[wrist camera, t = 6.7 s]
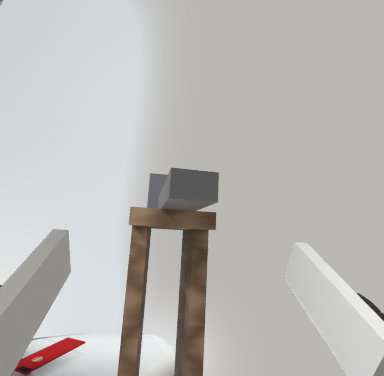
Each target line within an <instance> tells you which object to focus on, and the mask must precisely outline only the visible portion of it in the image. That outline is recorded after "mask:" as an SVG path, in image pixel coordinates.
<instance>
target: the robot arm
mask: <svg viewBox="0 0 384 376" xmlns="http://www.w3.org/2000/svg"><path fill="white" fill-rule="evenodd" d="M2 2H3V0H0V5H1V4H2ZM68 234H69V233H68V230H56V229H55V230H54V229H53V230H52V231H51V232H50V234H49V235H48V236H47V237H46V238H45V239H44V240H43V241H42V242H41V243H40V245H39V246H38V247H37V248H36V249H35V250H34V251H33V252H32V253H31V254H30V256H29V257H28V258H27V259H26V260H25V261H24V262H23V263H22V264H21V266H20V267H19V268H18V269H17V270H16V271H15V272H14V273H13V274H12V275H11V277H10V278H9V279H8V280H7V281H6V282H5V283H4V284H3V285H0V376H11V375H12V373H13V371H14V370H15V368H16V366H17V365H18V363H19V361H20V359H21V358H22V356H23V354H24V352H25V351H26V349H27V347H28V345H29V344H30V342H31V340H32V339H33V336H34V335H35V333H36V332H37V329H38V328H39V326H40V325H41V323H42V321H43V319H44V318H45V316H46V314H47V313H48V311H49V309H50V307H51V306H52V304H53V302H54V300H55V299H56V297H57V295H58V293H59V292H60V290H61V288H62V287H63V285H64V283H65V281H66V279H67V278H68V276H69V274H70V272H71V267H70V251H69V235H68ZM284 280H285V281H286V283H287V284H288V286H289V287H290V289H291V291H292V292H293V294H294V295H295V297H296V298H297V299H298V301H299V303H300V304H301V306H302V307H303V309H304V310H305V312H306V313H307V315H308V317H309V318H310V320H311V321H312V323H313V324H314V326H315V327H316V329H317V330H318V332H319V333H320V335H321V336H322V338H323V339H324V341H325V342H326V344H327V346H328V347H329V349H330V350H331V352H332V353H333V355H334V356H335V358H336V359H337V361H338V362H339V364H340V365H341V367H342V368H343V370H344V371H345V373H346V375H347V376H384V314H383V313H381V312H380V310H379V309H378V308H377V307H376V306H375V305H374V304H373V303H372V302H371V301H369V300H368V299H366V298H365V297H363V296H362V295H361V294H359V293H355V292H354V291H353V290H352V289H351V288H350V287H349V286H348V285H347V284H346V283H345V282H344V280H343V279H342V278H341V277H340V276H339V275H337V274H336V272H335V271H334V270H333V269H332V268H331V267H330V266H329V265H328V264H327V263H326V262H325V261H324V260H323V259H322V258H321V257H320V256H319V255H318V254H317V253H316V252H315V251H314V250H313V249H312V248H311V247H310V246H309V245H308V244H307V243H300V242H295V243H294V247H293V250H292V253H291V257H290V260H289V264H288V267H287V270H286V274H285V277H284Z"/></svg>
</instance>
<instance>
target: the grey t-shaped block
mask: <svg viewBox="0 0 384 376" xmlns="http://www.w3.org/2000/svg"><path fill="white" fill-rule="evenodd" d="M218 175H219V173H217V172H207V171H198V170H188V169H179V168H171V170H170V172H169V174H168V175H163V174H152V173H151V174H150V181H149V192H148V203H147V208H156V209H171V210H186V211H197V210H199V209H202V208H204V207H207V206H209V205H212V204H214V203H217V202H218V179H219V176H218Z"/></svg>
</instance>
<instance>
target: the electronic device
mask: <svg viewBox="0 0 384 376" xmlns="http://www.w3.org/2000/svg"><path fill="white" fill-rule="evenodd" d="M84 343H85V342H84V341H80V340H76V339H72V338H66V339H64V340H62V341H59V342H57V343H55V344H53V345H51V346H49V347H46V348H44V349H42V350H40V351H38V352H36V353H34V354H31V355H29V356H27V357H25V358H23V359H21V360H20V361H19V363H18V365H17V366H16V368H15V370H14V371H17V372H20V373H23V374H28V373H30V372H32V371H34V370H36V369H37V368H39V367H41V366H43V365H45V364H47V363H49V362H51V361H52V360H54V359H56V358H58V357H60V356H62V355H64V354H65V353H67V352H69V351H71V350H73V349H75V348H77V347H79V346H80V345H82V344H84Z"/></svg>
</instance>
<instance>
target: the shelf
mask: <svg viewBox="0 0 384 376" xmlns="http://www.w3.org/2000/svg"><path fill="white" fill-rule="evenodd" d="M129 225H132V235H131V245H130V255H129V265H128V276H127V285H126V295H125V305H124V315H123V325H122V335H121V346H120V356H119V366H118V376H139V366H140V354H141V342H142V330H143V318H144V306H145V295H146V283H147V270H148V259H149V247H150V236H151V228H156V229H174V230H183V239H182V256H181V273H180V289H179V306H178V322H177V340H176V356H175V372H174V376H203V354H204V330H205V305H206V279H207V278H206V277H207V255H208V253H207V252H208V230H215V229H216V213H215V212H201V211H186V210H171V209H156V208H140V207H131V209H130V218H129Z"/></svg>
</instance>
